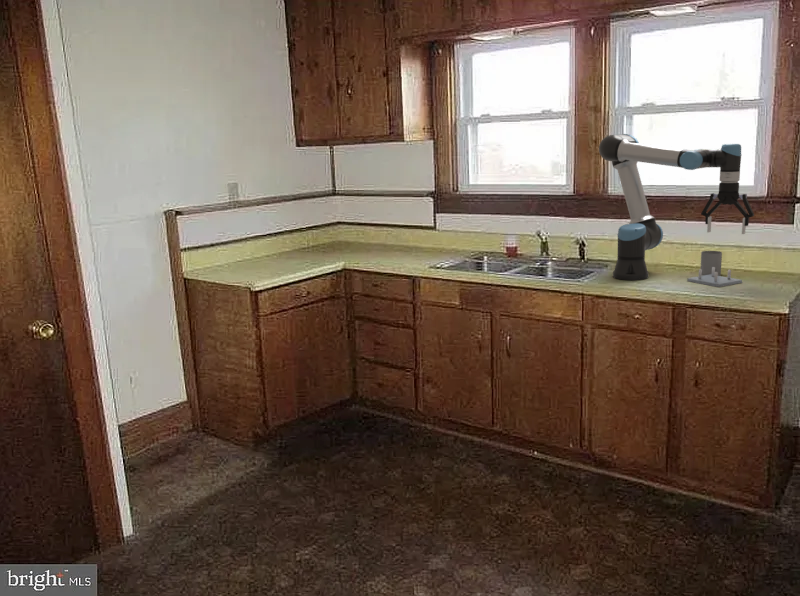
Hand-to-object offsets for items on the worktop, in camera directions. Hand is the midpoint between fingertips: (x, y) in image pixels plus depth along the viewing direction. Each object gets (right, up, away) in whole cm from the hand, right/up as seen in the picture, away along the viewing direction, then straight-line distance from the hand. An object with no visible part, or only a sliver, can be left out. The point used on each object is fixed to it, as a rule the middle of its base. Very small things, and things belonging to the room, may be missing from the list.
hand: (725, 232), depth 298 cm
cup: (+2, -17, +18) cm, 25 cm away
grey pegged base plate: (-4, -21, +3) cm, 21 cm away
